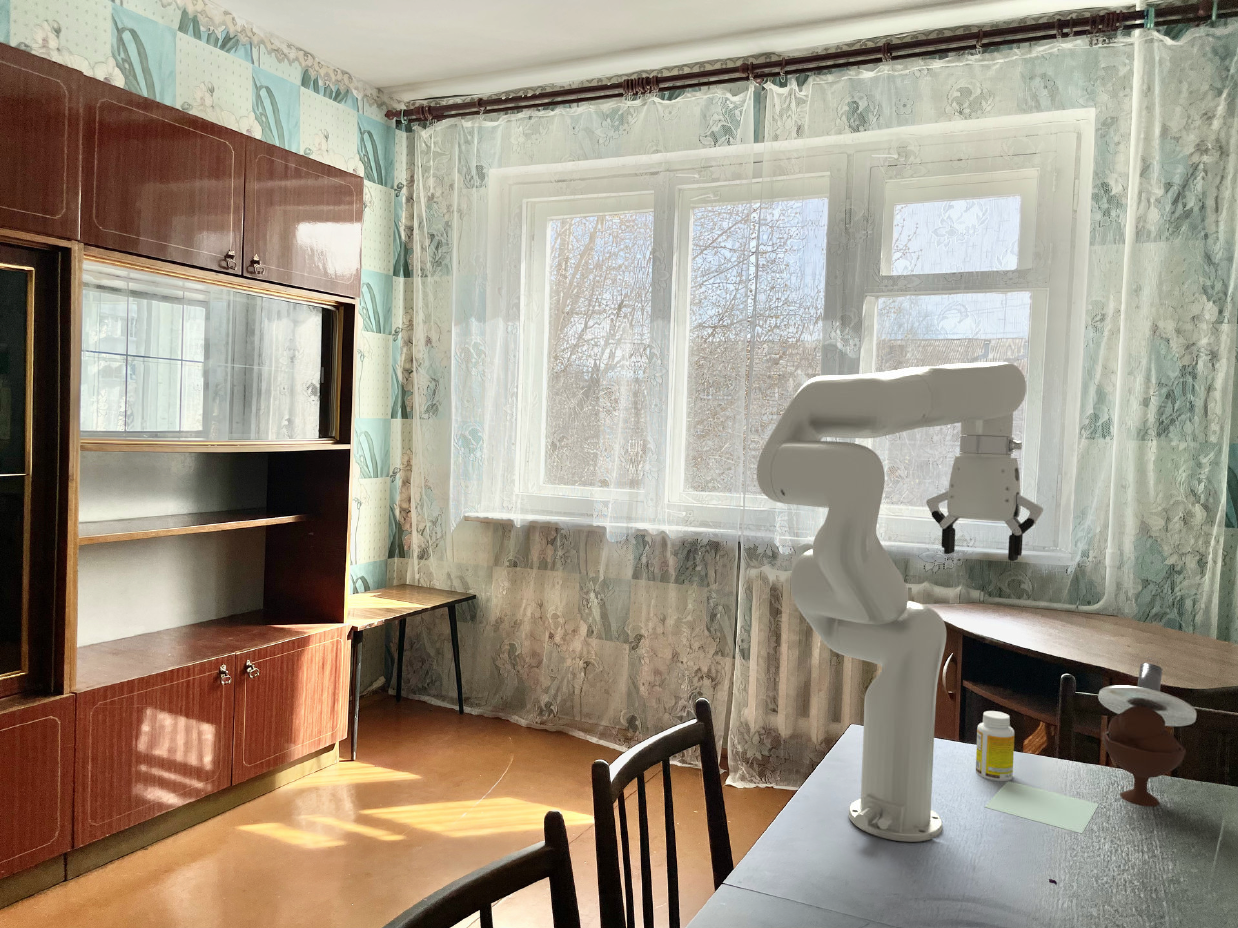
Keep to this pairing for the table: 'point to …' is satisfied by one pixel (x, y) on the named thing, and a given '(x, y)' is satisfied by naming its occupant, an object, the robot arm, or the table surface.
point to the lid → (1148, 698)
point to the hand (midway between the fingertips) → (980, 556)
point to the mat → (1043, 806)
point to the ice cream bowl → (1142, 750)
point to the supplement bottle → (995, 747)
